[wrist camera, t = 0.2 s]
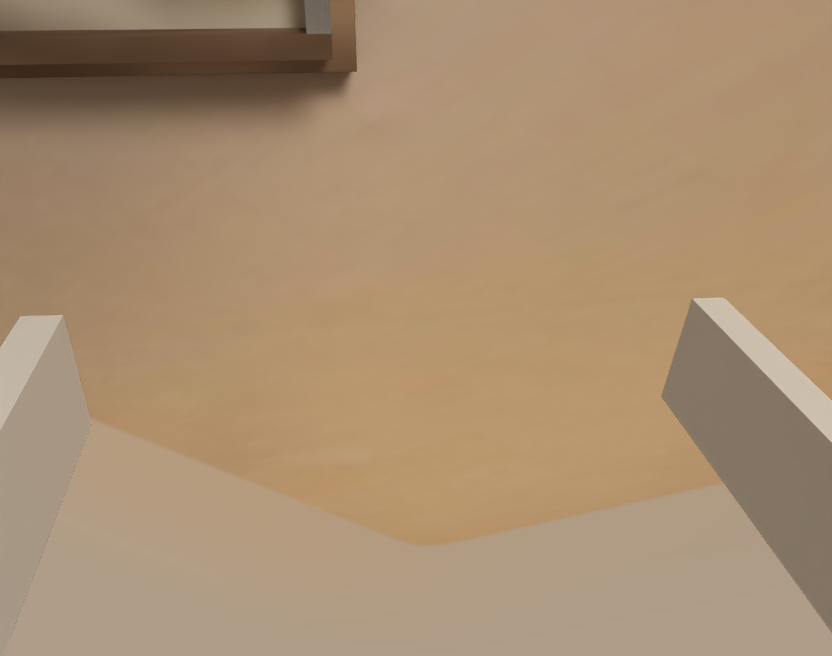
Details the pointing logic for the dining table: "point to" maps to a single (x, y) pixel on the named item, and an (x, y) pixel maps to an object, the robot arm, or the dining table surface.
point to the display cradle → (175, 37)
